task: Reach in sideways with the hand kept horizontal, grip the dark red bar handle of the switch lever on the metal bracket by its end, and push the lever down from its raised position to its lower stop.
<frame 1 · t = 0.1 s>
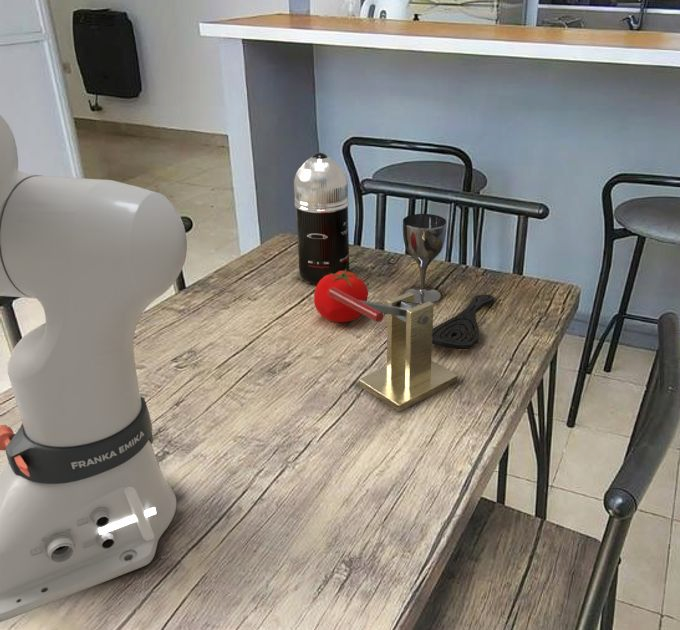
wine glass: (422, 296, 130), on the table
bracket: (408, 383, 103), on the table
lever: (385, 309, 93), point 14 cm above the table, hinge at 25.0°
tomato: (342, 317, 122), on the table
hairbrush: (465, 327, 120), on the table
black silver domed canister: (324, 277, 137), on the table
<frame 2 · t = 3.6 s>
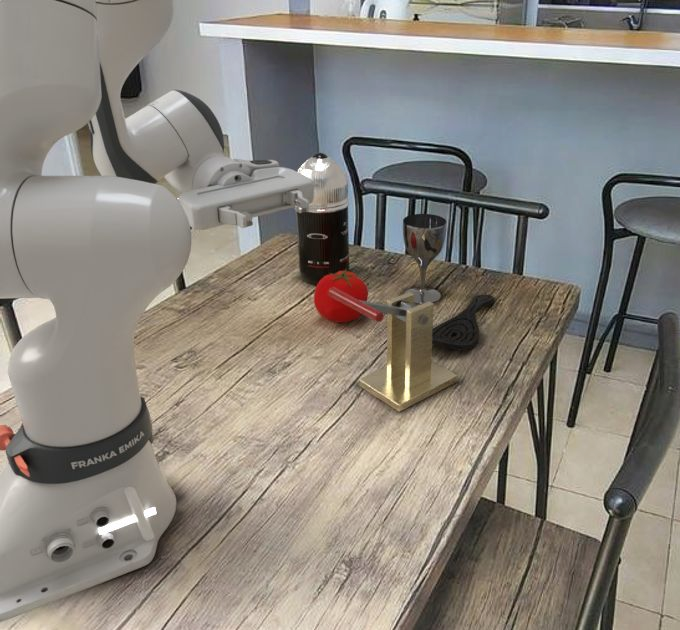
hand: (277, 214, 96), 24 cm above the table, tool horizontal, fingers open, 8 cm apart
nothing on the table moved.
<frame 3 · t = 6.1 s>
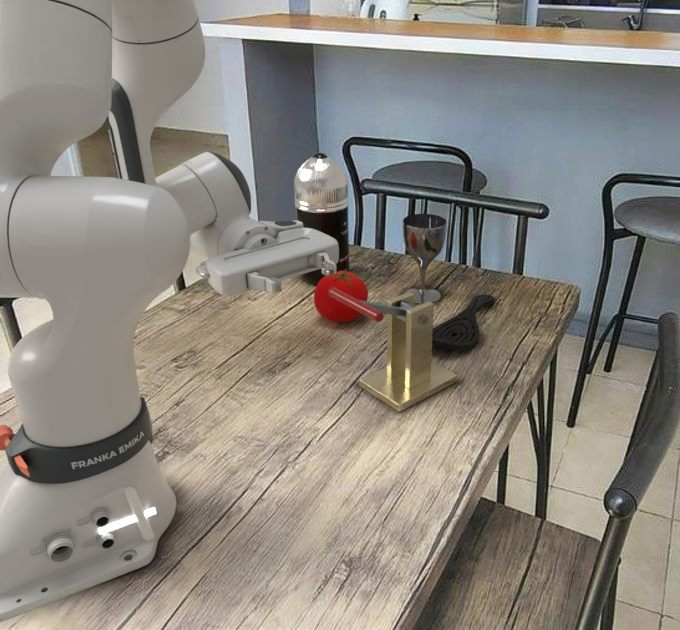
hand: (305, 278, 96), 17 cm above the table, tool horizontal, fingers open, 8 cm apart
nothing on the table moved.
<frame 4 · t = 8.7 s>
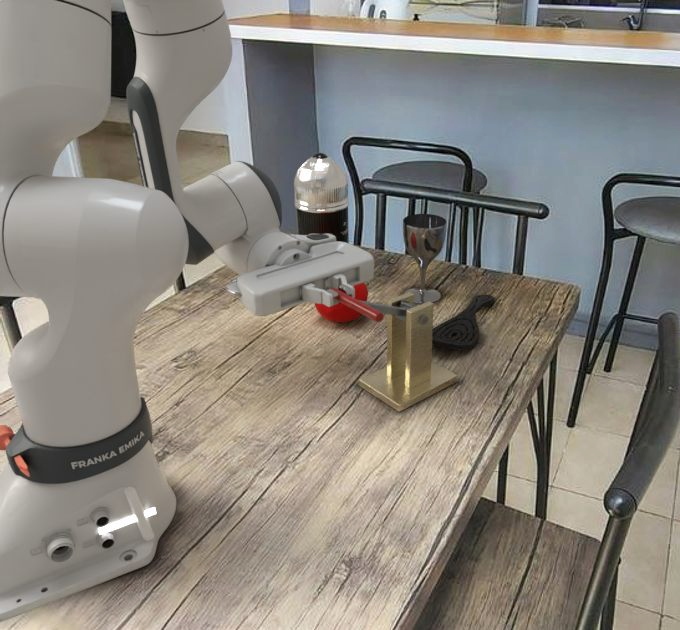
hand: (342, 297, 91), 17 cm above the table, tool horizontal, fingers closed on lever
lever: (385, 309, 93), point 14 cm above the table, hinge at 24.9°, touching gripper
everything else where it was.
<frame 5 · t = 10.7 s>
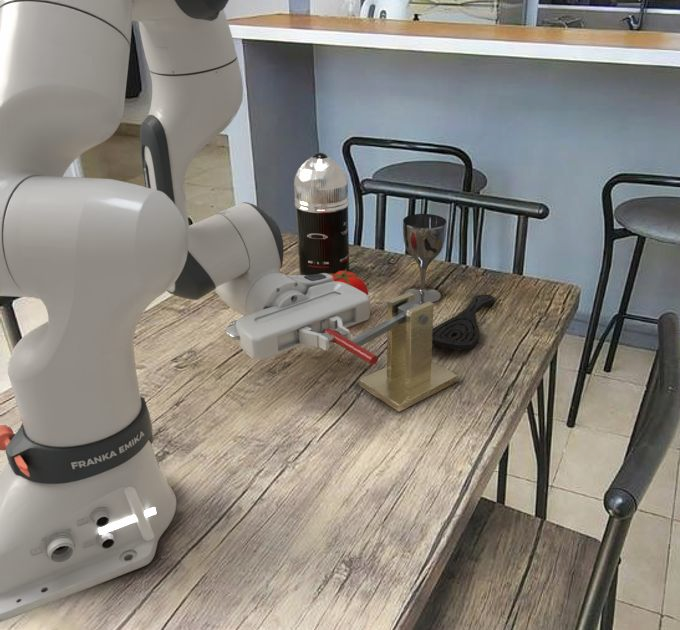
hand: (338, 341, 93), 10 cm above the table, tool horizontal, fingers closed on lever
lever: (383, 327, 94), point 11 cm above the table, hinge at -6.9°, touching gripper
everything else where it was.
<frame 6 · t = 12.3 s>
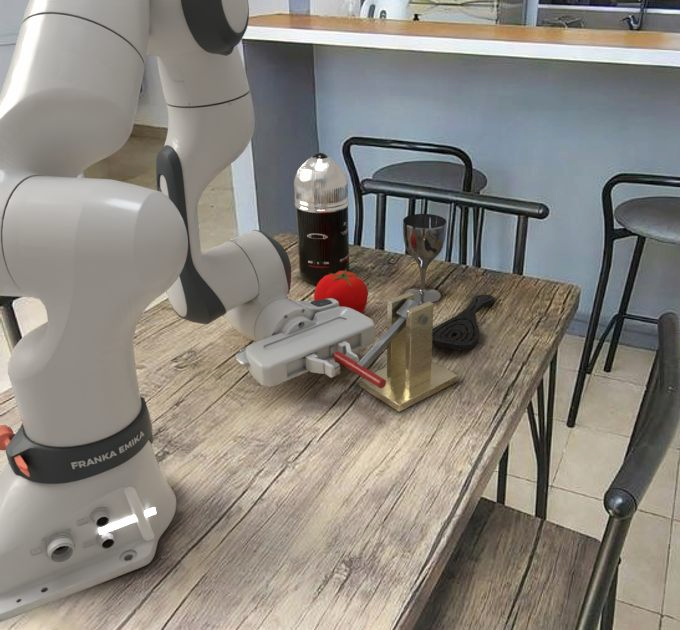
hand: (345, 367, 96), 6 cm above the table, tool horizontal, fingers closed
lever: (386, 338, 96), point 9 cm above the table, hinge at -30.2°
everything else where it was.
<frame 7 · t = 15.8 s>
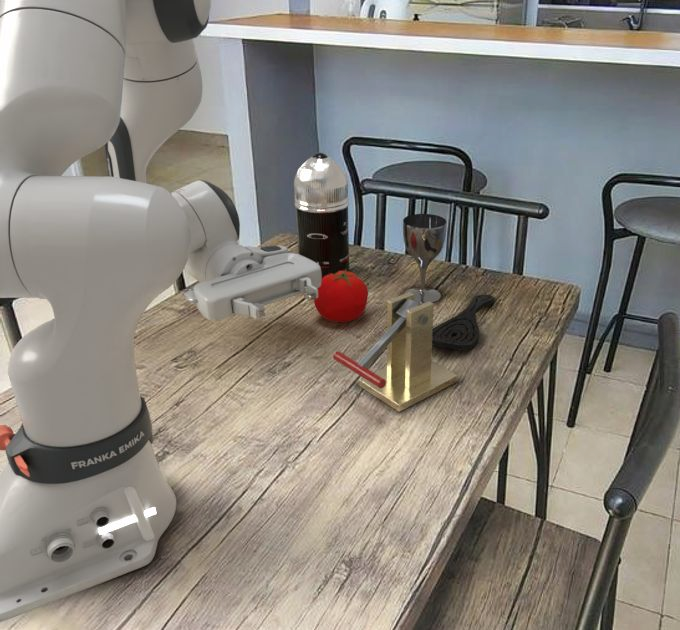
hand: (288, 303, 101), 11 cm above the table, tool horizontal, fingers open, 8 cm apart
nothing on the table moved.
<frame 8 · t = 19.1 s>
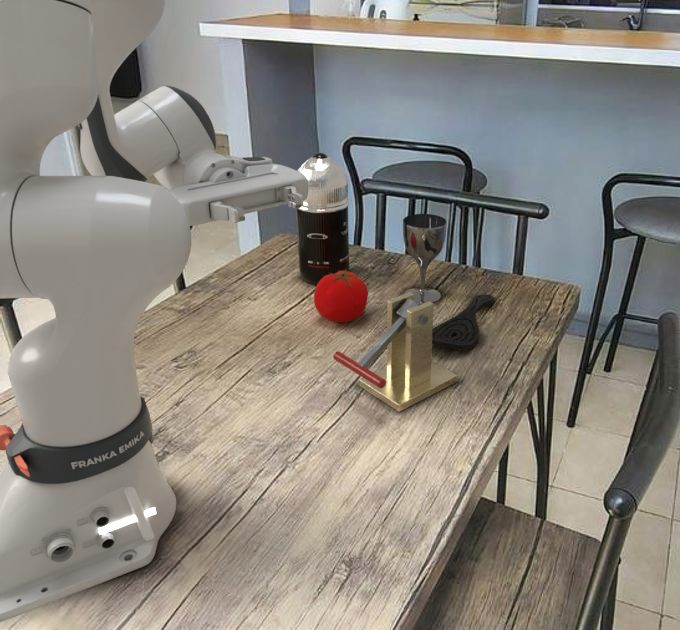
hand: (270, 209, 93), 26 cm above the table, tool horizontal, fingers open, 8 cm apart
nothing on the table moved.
at the end: lever at -30° (first picture: +25°); lever reached -30° during the clip, -30° at the end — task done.
